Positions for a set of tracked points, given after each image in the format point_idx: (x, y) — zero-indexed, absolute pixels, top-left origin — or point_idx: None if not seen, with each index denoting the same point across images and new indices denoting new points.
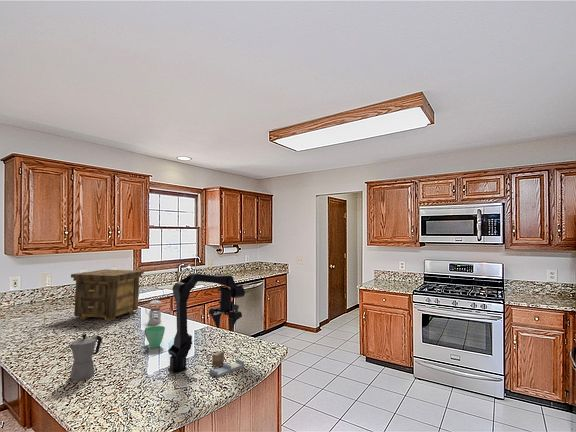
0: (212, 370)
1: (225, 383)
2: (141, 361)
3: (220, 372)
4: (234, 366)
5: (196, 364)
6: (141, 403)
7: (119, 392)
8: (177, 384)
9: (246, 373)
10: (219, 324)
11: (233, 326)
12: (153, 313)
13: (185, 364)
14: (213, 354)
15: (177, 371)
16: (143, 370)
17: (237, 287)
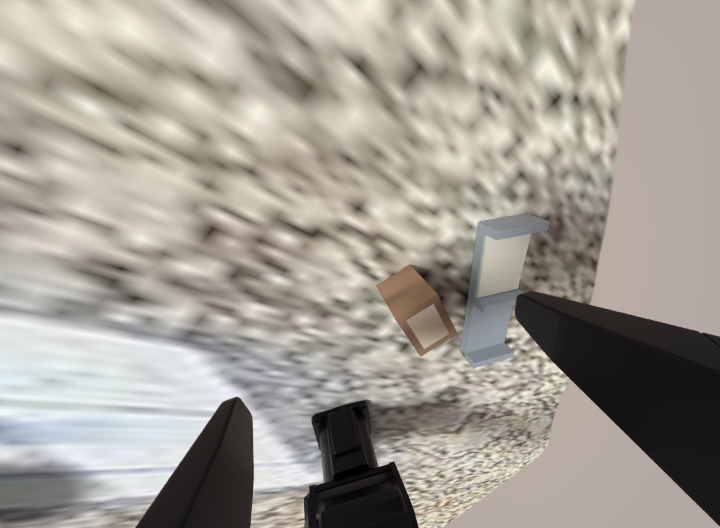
0: (489, 361)
1: None
2: None
3: (500, 329)
4: (514, 266)
5: (341, 366)
6: (458, 476)
7: None
8: (442, 428)
9: (570, 241)
10: (217, 460)
11: (635, 323)
12: None
13: (354, 418)
14: (420, 351)
15: (370, 429)
16: (275, 494)
17: None
